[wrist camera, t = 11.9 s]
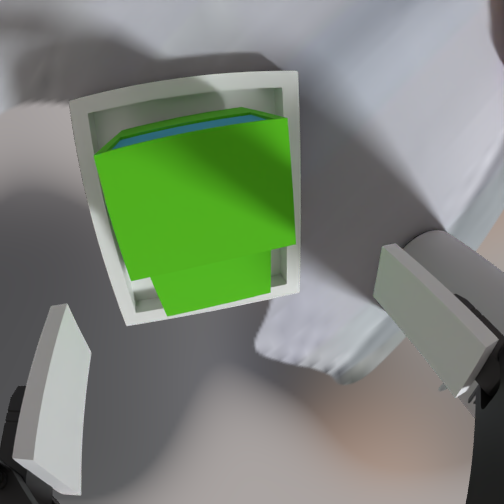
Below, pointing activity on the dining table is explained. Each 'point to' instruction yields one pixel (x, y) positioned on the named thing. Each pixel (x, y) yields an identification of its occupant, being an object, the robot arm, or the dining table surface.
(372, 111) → the dining table surface
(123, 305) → the tray
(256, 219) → the toy car
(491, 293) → the cylinder vase
